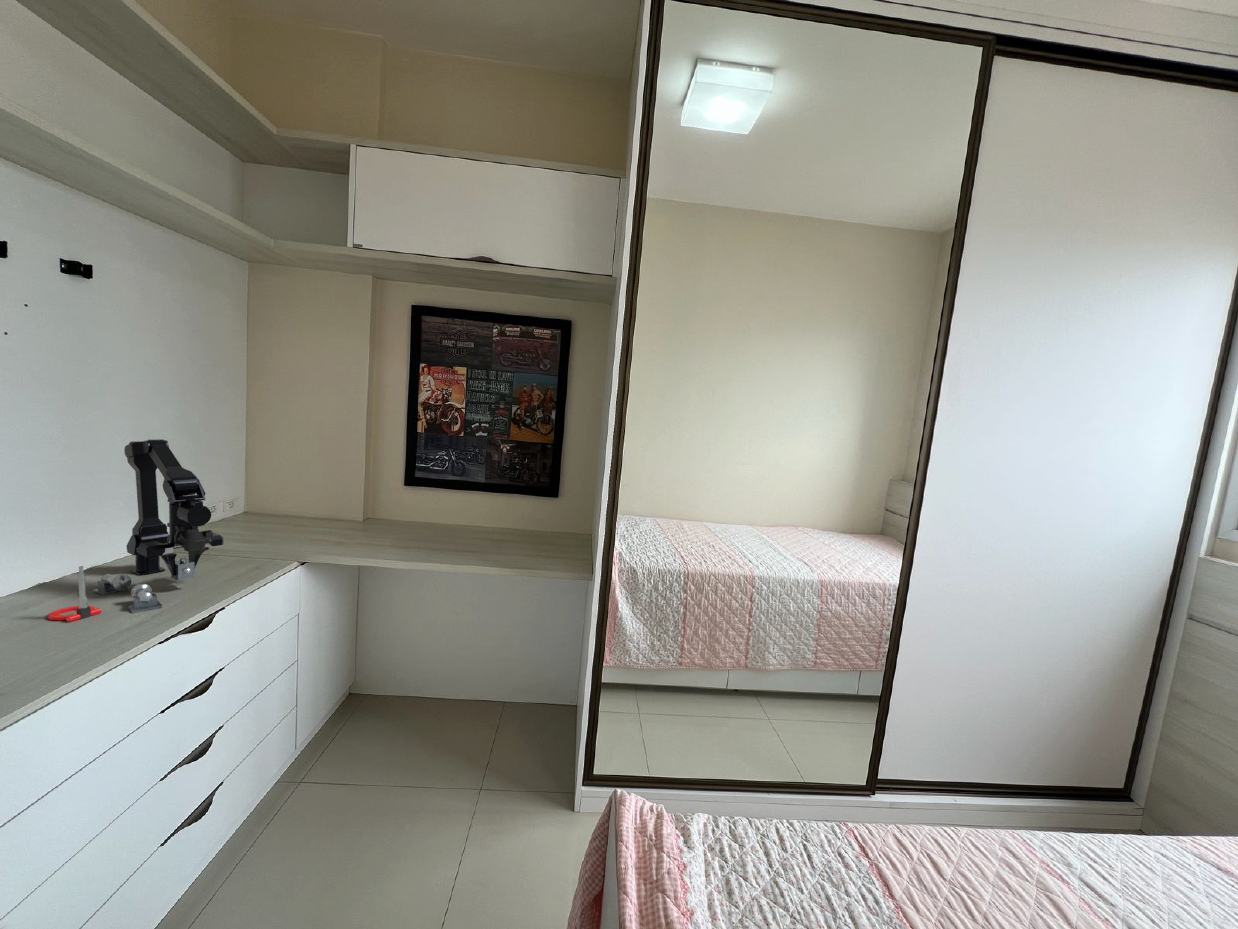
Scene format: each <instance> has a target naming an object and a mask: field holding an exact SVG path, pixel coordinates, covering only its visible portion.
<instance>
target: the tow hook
mask: <svg viewBox="0 0 1238 929" xmlns="http://www.w3.org/2000/svg"><path fill="white" fill-rule="evenodd" d="M77 577H78V579H77V580H78V594H79V595H78V596H79V597H78V605H74V606H69V607H68V606H67V607H63V608H59V609H56V610H53V611H51V612H49V613H48V614H47V619H48V620H50V621H66V622H67V623H71V622H74V621H78V620H83V619H86V618H90V617H92V616H96V615H99V614H101V613H102V609H101V608H100V607H97V608H96V607H95V606H93V605H88V596H87V593H86V592H87V590H86V589H87V588H86V574H85V573H84V565H80V566H78V575H77ZM75 611H76V614H74V613H72V614H64V613H68V612H75ZM61 614H62V615H61Z"/></svg>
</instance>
